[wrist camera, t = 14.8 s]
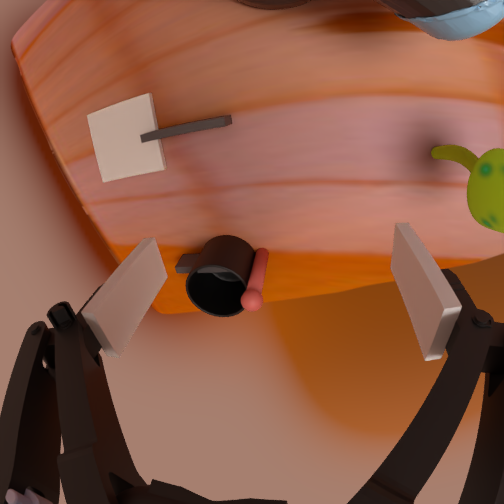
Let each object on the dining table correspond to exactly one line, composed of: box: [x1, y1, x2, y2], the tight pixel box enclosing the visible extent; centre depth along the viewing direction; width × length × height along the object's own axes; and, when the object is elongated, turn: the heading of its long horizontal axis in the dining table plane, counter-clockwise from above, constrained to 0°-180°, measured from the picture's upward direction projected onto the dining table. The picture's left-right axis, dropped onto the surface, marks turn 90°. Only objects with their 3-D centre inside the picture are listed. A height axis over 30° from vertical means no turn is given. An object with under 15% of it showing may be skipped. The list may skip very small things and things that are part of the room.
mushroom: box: [431, 145, 504, 233], centre depth 23 cm, size 8×8×25 cm
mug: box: [186, 235, 256, 317], centre depth 45 cm, size 9×12×9 cm
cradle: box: [140, 115, 269, 311], centre depth 37 cm, size 23×15×13 cm, turn 8°
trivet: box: [87, 93, 167, 183], centre depth 39 cm, size 12×12×1 cm
